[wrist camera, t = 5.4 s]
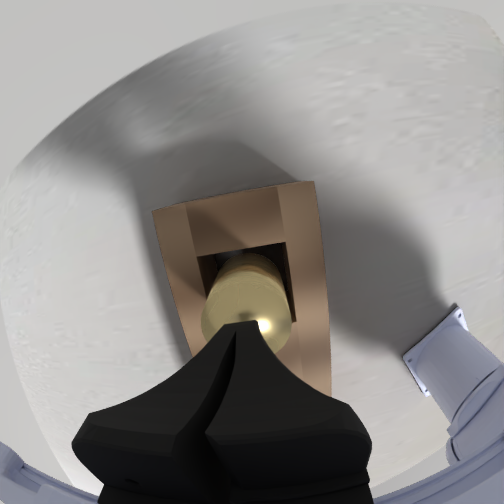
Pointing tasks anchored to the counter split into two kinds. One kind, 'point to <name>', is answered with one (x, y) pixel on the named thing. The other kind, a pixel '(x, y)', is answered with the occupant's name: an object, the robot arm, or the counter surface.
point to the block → (245, 236)
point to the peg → (249, 299)
